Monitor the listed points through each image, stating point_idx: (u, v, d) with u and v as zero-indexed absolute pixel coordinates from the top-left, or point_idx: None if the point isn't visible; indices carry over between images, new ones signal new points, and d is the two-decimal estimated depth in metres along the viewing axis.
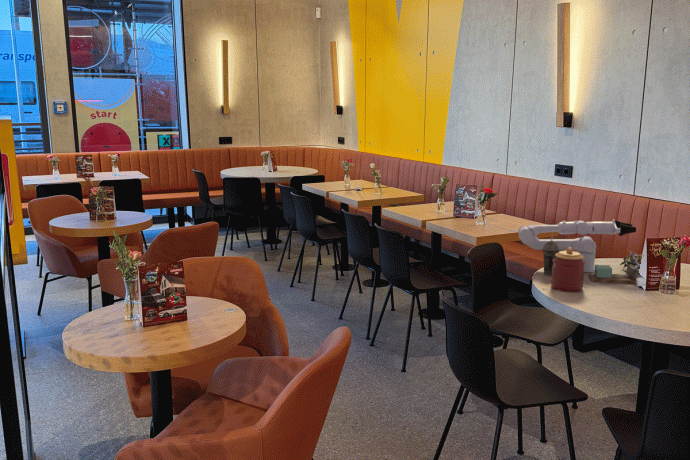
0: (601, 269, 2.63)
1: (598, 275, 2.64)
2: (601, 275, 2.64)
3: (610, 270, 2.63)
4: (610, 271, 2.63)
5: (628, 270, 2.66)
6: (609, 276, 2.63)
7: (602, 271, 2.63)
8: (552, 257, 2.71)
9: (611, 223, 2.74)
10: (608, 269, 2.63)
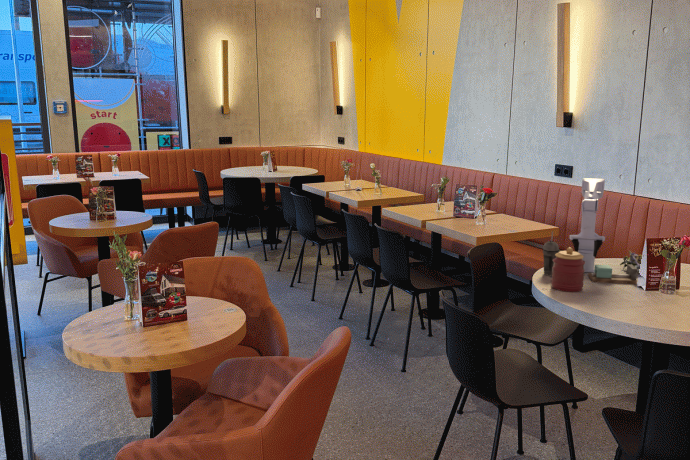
0: (601, 269, 2.63)
1: (598, 275, 2.64)
2: (601, 275, 2.64)
3: (610, 270, 2.63)
4: (610, 271, 2.63)
5: (628, 270, 2.66)
6: (609, 276, 2.63)
7: (602, 271, 2.63)
8: (552, 257, 2.71)
9: (585, 235, 2.62)
10: (608, 269, 2.63)
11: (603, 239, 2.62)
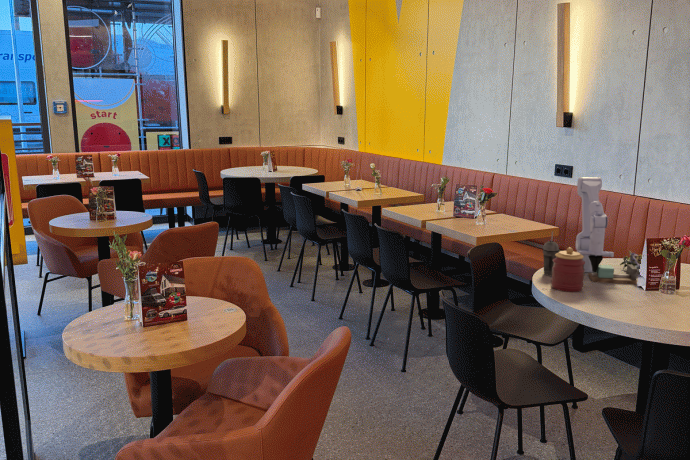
0: (603, 269, 2.63)
1: (600, 275, 2.64)
2: (603, 275, 2.63)
3: (612, 270, 2.62)
4: (612, 271, 2.62)
5: (628, 270, 2.66)
6: (610, 276, 2.63)
7: (604, 271, 2.63)
8: (552, 257, 2.71)
9: (593, 251, 2.63)
10: (610, 269, 2.62)
11: (612, 255, 2.63)
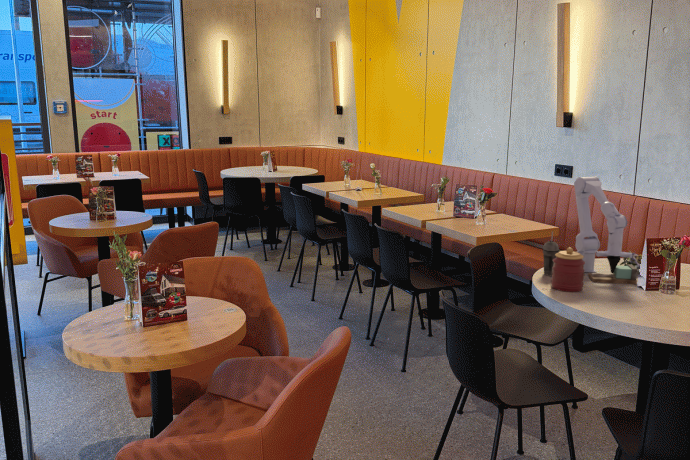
0: (620, 270, 2.62)
1: (617, 276, 2.62)
2: (620, 276, 2.62)
3: (629, 271, 2.61)
4: (629, 272, 2.61)
5: None
6: (628, 277, 2.62)
7: (621, 272, 2.62)
8: (552, 257, 2.71)
9: (612, 251, 2.62)
10: (627, 270, 2.61)
11: (630, 256, 2.62)
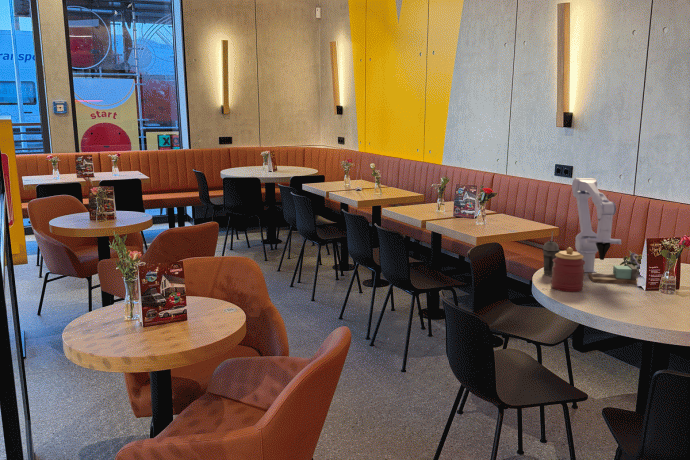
0: (620, 270, 2.62)
1: (617, 276, 2.62)
2: (620, 276, 2.62)
3: (629, 271, 2.61)
4: (629, 272, 2.61)
5: None
6: (628, 277, 2.62)
7: (621, 272, 2.62)
8: (552, 257, 2.71)
9: (601, 238, 2.61)
10: (627, 270, 2.61)
11: (619, 242, 2.62)
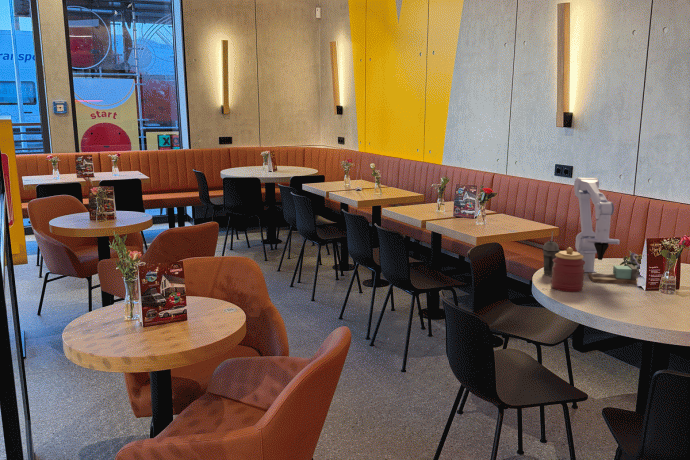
0: (620, 270, 2.62)
1: (617, 276, 2.62)
2: (620, 276, 2.62)
3: (629, 271, 2.61)
4: (629, 272, 2.61)
5: None
6: (628, 277, 2.62)
7: (621, 272, 2.62)
8: (552, 257, 2.71)
9: (599, 238, 2.60)
10: (627, 270, 2.61)
11: (618, 242, 2.61)
